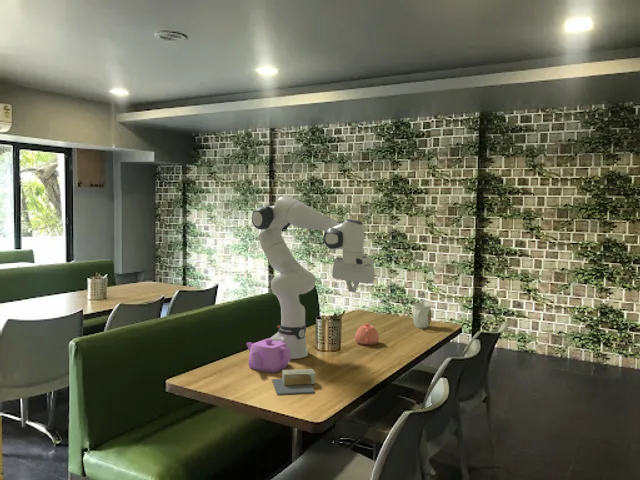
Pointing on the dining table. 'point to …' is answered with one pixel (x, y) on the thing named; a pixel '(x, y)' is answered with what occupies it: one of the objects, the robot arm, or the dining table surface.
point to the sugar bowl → (367, 334)
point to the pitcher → (421, 314)
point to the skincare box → (298, 376)
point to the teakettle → (268, 355)
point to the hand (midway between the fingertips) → (352, 291)
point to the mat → (291, 388)
